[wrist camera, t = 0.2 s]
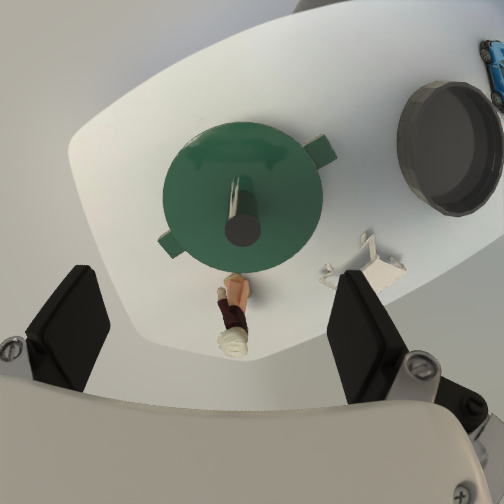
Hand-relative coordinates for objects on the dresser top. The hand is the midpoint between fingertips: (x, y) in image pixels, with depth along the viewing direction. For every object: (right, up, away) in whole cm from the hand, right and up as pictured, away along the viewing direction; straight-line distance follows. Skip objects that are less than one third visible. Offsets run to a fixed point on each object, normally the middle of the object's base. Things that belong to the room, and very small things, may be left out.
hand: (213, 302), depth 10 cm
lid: (+1, +6, +14) cm, 15 cm away
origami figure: (+16, +1, +28) cm, 32 cm away
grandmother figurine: (-1, -3, +30) cm, 30 cm away
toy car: (+39, +29, +14) cm, 50 cm away
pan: (+28, +16, +20) cm, 38 cm away
